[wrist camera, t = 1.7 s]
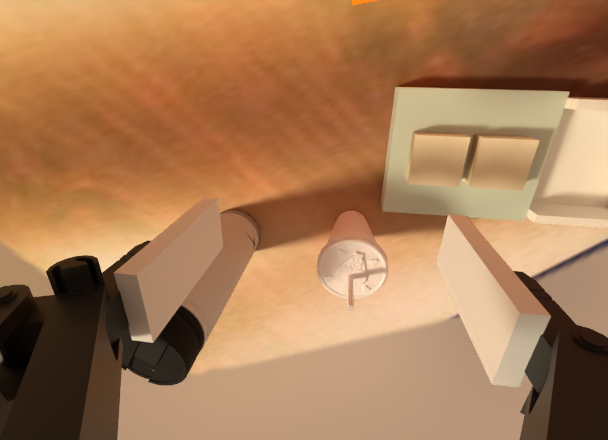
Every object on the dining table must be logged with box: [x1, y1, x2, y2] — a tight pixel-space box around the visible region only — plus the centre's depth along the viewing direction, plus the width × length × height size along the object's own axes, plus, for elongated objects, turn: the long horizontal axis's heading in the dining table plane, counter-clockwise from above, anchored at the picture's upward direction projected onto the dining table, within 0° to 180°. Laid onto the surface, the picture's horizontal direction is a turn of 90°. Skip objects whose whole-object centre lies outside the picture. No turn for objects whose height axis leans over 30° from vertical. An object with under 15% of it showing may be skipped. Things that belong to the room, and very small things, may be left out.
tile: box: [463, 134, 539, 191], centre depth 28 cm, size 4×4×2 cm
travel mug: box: [121, 210, 260, 385], centre depth 30 cm, size 6×7×20 cm
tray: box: [527, 97, 608, 228], centre depth 29 cm, size 11×9×4 cm
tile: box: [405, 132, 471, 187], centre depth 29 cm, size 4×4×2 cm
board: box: [380, 87, 570, 221], centre depth 31 cm, size 12×14×2 cm
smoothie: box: [317, 211, 388, 311], centre depth 30 cm, size 6×6×14 cm
